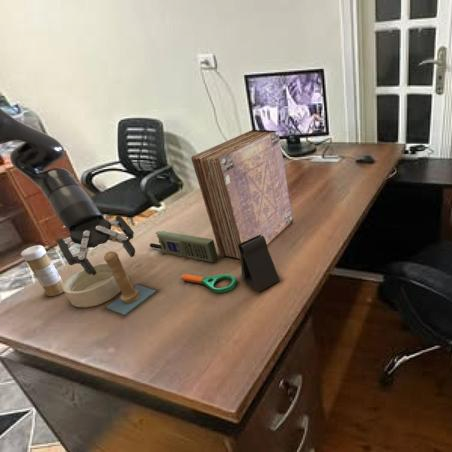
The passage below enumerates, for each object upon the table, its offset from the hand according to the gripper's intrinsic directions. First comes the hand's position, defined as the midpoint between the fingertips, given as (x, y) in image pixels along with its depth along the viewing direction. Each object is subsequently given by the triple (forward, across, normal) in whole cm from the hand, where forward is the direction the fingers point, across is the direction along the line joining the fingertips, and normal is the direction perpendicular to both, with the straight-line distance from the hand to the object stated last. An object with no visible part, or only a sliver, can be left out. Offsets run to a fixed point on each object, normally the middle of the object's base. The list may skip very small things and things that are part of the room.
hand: (114, 264), depth 81 cm
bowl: (0, -4, +16) cm, 17 cm away
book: (+11, +37, +5) cm, 39 cm away
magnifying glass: (+16, +15, 0) cm, 22 cm away
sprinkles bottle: (-8, -10, +24) cm, 27 cm away
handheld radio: (+2, +19, +14) cm, 24 cm away
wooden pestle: (+7, 0, +8) cm, 11 cm away
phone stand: (+23, +24, -7) cm, 34 cm away
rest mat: (+8, 0, +8) cm, 11 cm away
